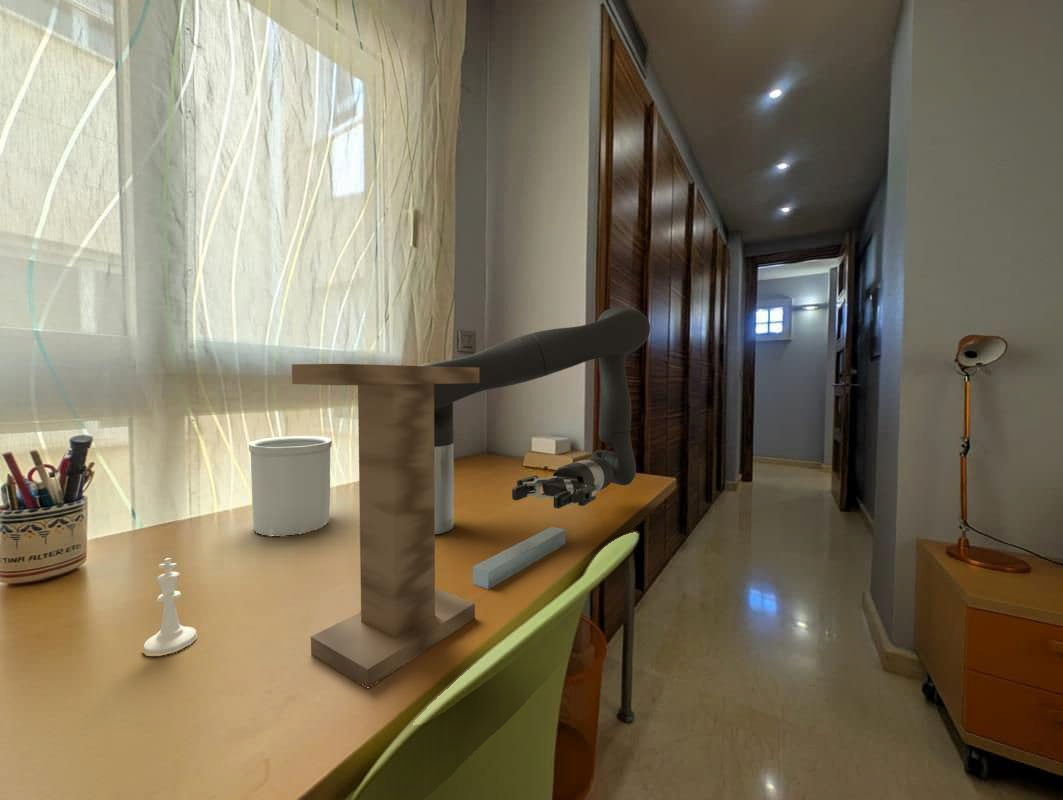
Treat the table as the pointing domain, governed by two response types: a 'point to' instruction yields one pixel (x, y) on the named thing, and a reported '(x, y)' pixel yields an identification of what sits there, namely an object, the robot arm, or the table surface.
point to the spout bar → (517, 557)
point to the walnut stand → (392, 521)
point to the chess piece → (169, 616)
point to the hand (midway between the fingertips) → (534, 498)
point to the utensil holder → (290, 484)
